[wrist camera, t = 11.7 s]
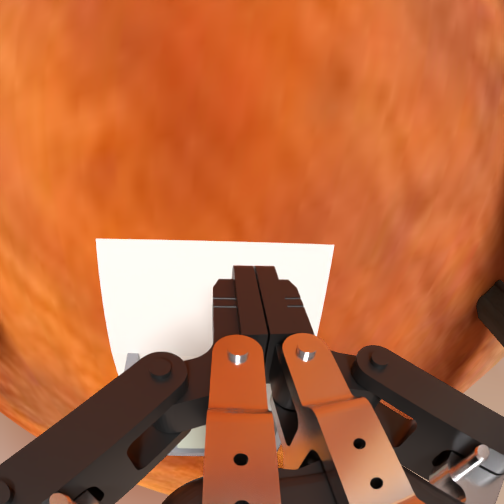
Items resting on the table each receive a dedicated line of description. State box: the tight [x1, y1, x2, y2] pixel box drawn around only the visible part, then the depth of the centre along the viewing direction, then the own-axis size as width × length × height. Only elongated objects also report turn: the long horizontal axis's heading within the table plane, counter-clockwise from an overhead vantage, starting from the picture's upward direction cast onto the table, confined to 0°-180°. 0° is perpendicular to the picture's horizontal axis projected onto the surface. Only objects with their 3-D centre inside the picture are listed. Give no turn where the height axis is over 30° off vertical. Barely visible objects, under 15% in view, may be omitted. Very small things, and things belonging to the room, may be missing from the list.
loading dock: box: [96, 239, 334, 456], centre depth 27 cm, size 18×25×6 cm
